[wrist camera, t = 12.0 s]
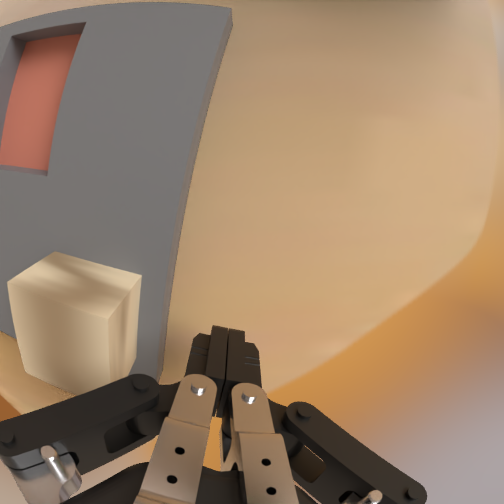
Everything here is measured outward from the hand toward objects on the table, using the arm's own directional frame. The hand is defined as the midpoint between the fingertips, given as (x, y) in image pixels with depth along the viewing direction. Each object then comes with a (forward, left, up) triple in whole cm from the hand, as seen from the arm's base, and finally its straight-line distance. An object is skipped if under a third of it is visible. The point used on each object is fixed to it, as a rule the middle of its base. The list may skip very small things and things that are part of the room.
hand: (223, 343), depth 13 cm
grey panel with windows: (-14, +5, -3) cm, 15 cm away
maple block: (-7, 0, -1) cm, 7 cm away
